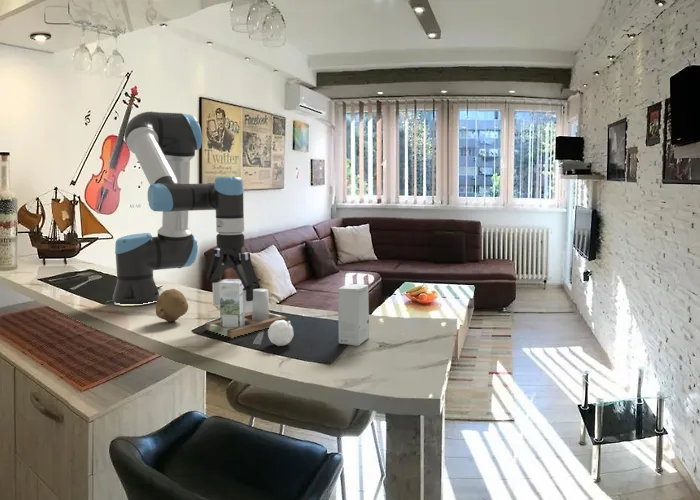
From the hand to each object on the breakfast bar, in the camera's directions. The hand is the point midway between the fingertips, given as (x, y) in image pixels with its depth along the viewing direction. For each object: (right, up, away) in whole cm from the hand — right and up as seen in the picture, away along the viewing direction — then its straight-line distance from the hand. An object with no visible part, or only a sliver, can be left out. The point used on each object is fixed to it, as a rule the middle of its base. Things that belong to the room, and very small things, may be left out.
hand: (232, 308), depth 154 cm
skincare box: (+34, -8, -9) cm, 36 cm away
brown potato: (-20, -5, +10) cm, 23 cm away
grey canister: (+7, -5, +8) cm, 12 cm away
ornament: (+15, -8, -12) cm, 21 cm away
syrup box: (0, -7, +1) cm, 7 cm away
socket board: (+3, -6, +5) cm, 8 cm away
